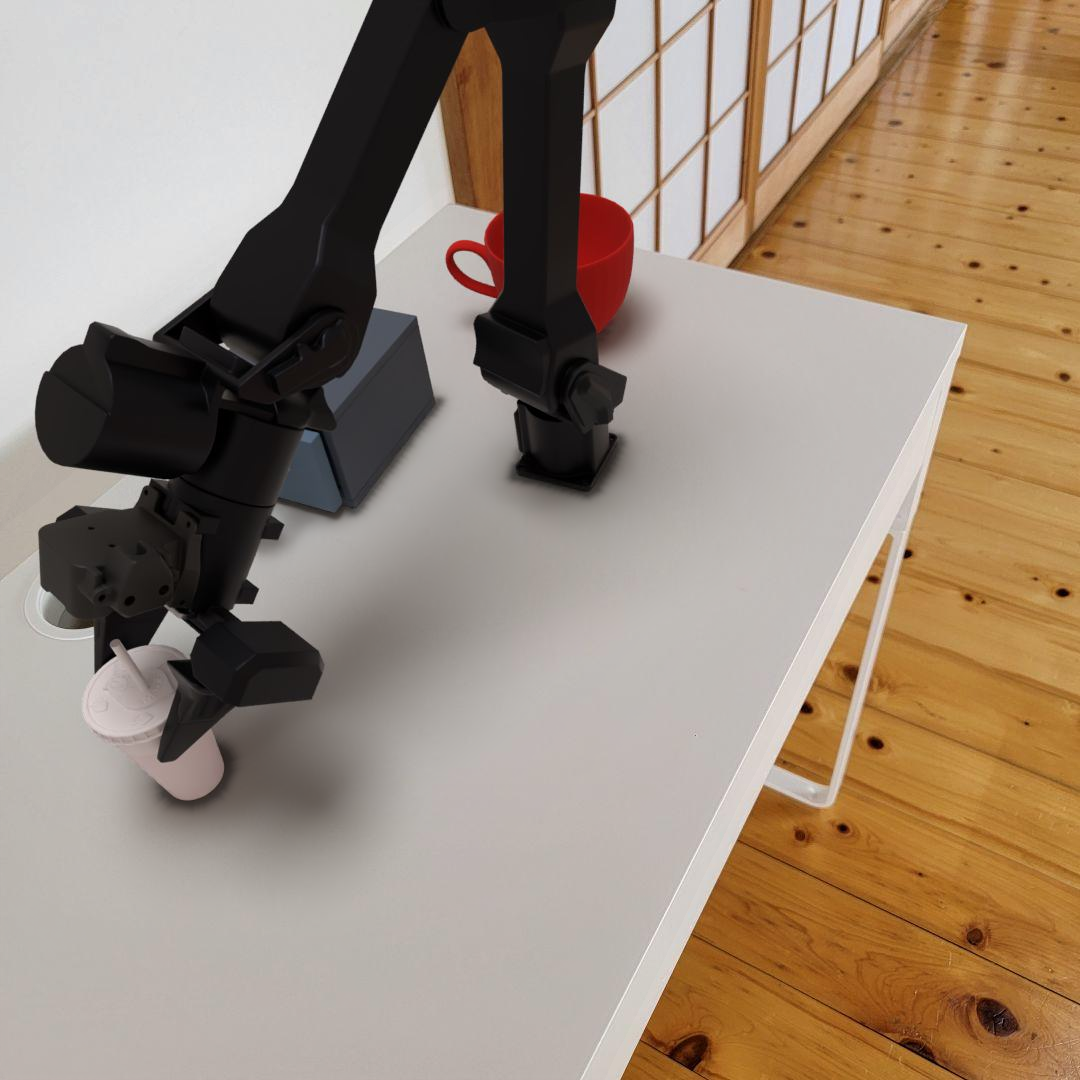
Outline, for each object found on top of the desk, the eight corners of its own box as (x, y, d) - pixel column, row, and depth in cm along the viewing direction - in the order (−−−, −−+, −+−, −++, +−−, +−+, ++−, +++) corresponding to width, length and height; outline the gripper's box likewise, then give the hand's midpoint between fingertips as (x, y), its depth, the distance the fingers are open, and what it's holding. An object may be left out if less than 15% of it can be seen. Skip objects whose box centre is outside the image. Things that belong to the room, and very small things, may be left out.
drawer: (303, 553, 75) (275, 484, 69) (183, 518, 79) (148, 449, 73) (412, 413, 85) (395, 343, 79) (302, 388, 89) (278, 319, 83)
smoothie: (220, 827, 61) (131, 699, 51) (127, 812, 62) (21, 684, 52) (260, 737, 65) (185, 602, 55) (172, 725, 66) (82, 590, 56)
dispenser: (355, 508, 79) (327, 420, 72) (228, 473, 83) (190, 387, 77) (436, 403, 87) (417, 315, 80) (316, 376, 91) (288, 290, 85)
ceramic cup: (470, 287, 99) (454, 193, 92) (641, 287, 96) (639, 190, 89) (444, 368, 90) (424, 272, 83) (631, 370, 87) (627, 271, 80)
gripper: (0, 396, 53) (-84, 654, 56) (203, 554, 43) (90, 853, 46) (177, 429, 62) (97, 647, 65) (375, 564, 53) (271, 812, 56)
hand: (133, 728), depth 58 cm, fingers closed on smoothie, 6 cm apart
